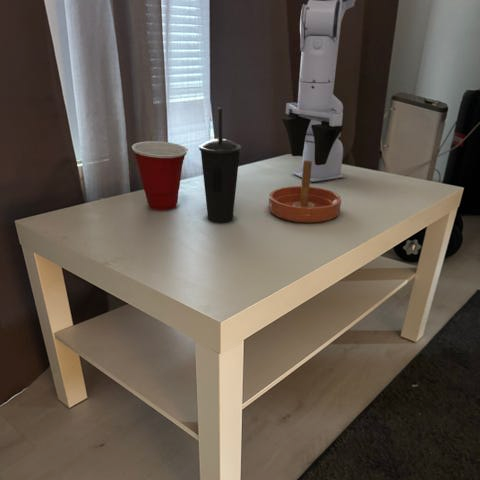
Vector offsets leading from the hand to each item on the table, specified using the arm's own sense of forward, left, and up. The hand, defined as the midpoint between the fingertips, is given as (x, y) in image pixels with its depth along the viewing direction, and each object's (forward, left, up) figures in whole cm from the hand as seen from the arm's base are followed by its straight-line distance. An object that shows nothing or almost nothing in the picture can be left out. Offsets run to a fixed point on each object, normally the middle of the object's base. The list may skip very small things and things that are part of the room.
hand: (308, 159), depth 93 cm
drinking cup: (+17, -4, -11) cm, 20 cm away
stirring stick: (0, 0, -10) cm, 10 cm away
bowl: (0, 0, -10) cm, 10 cm away
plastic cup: (+24, -16, -11) cm, 31 cm away
